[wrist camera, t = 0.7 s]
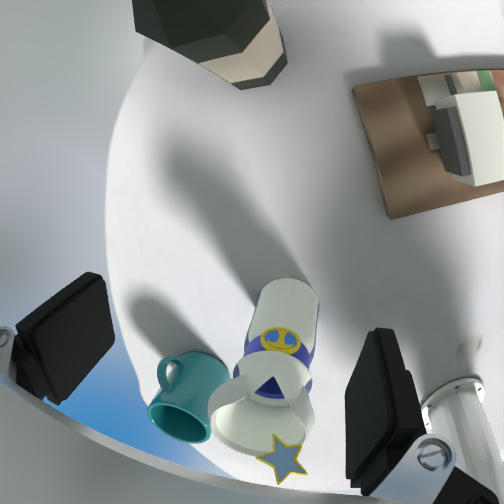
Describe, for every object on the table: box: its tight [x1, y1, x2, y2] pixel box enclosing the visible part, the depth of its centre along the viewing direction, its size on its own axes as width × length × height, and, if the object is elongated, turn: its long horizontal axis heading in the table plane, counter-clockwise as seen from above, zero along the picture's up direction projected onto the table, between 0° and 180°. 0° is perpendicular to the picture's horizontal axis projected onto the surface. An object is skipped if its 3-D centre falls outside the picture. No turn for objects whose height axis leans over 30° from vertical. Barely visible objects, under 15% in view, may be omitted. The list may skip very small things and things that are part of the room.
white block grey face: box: [430, 74, 504, 187], centre depth 19 cm, size 10×12×5 cm
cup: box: [147, 352, 231, 444], centre depth 39 cm, size 9×12×11 cm
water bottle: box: [208, 278, 319, 485], centre depth 25 cm, size 8×9×25 cm
